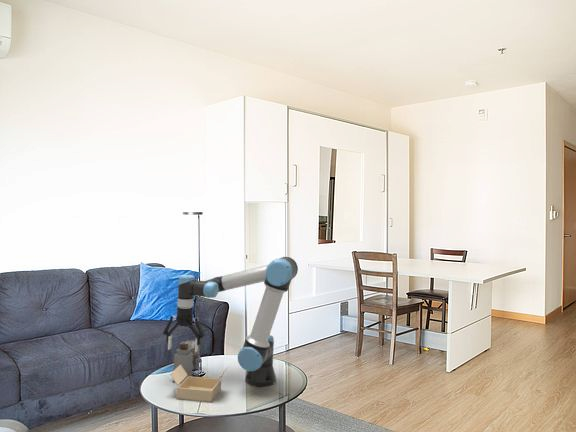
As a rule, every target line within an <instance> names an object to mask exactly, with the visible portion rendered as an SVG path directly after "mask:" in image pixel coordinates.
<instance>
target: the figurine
mask: <svg viewBox="0 0 576 432" xmlns="http://www.w3.org/2000/svg"><path fill="white" fill-rule="evenodd" d="M182 343H186V344H188V348H191V350H190V352H193V360H192V371H193V370H198V369H200V363H201V356H200V350H201V344H200V345H198V351H197V352H195V340H194V339H193V340H192V339H191V340H186V341H182V342H180V344H182ZM178 347H179V346H178ZM179 348H180V347H179ZM193 368H194V369H193Z"/></svg>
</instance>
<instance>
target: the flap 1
mask: <svg viewBox="0 0 576 432" xmlns="http://www.w3.org/2000/svg"><path fill="white" fill-rule="evenodd" d="M173 370H174V369H173ZM169 375H170V377H171V379H172V381H173V380H174V381H175V383H174V384H175V385H177V386H179V385H180V382H181V381H182V380H183V379H184V378H185V377H186V376H187V373H186V372H185V370H184V369H183V367H182V366H181V365H179V366H178V367H177V368H176V369H175V370H174V371H172V372H170V373H169Z"/></svg>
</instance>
